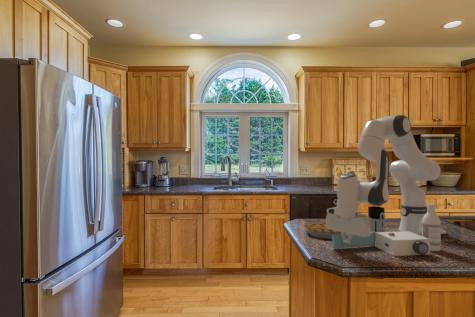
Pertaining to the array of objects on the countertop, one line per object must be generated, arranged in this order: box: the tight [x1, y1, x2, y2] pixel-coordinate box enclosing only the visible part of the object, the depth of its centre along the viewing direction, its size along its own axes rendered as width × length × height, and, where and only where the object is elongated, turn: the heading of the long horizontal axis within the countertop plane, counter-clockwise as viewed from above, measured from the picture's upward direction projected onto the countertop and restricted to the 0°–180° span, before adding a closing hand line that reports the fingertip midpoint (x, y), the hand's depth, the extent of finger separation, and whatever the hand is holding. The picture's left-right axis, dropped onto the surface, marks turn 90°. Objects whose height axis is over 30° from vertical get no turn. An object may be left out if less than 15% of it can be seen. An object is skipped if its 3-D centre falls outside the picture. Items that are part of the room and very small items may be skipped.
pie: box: [305, 221, 341, 240], centre depth 158 cm, size 22×22×5 cm
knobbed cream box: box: [375, 231, 431, 257], centre depth 129 cm, size 16×16×7 cm
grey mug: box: [367, 205, 386, 240], centre depth 149 cm, size 9×14×15 cm, turn 176°
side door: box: [331, 231, 376, 250], centre depth 134 cm, size 2×21×7 cm, turn 102°
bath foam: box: [421, 203, 442, 252], centre depth 132 cm, size 7×7×20 cm
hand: (347, 243), depth 130 cm, fingers closed
